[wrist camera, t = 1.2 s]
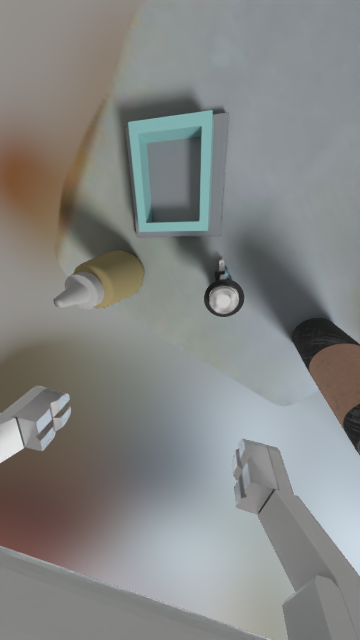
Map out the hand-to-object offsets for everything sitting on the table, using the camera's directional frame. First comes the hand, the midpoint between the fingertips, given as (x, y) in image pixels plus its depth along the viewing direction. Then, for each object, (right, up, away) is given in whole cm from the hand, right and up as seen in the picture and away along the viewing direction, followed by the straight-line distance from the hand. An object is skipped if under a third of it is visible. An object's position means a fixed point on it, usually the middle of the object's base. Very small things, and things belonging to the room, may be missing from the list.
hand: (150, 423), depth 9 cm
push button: (+9, +12, +25) cm, 29 cm away
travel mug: (+26, +2, +26) cm, 37 cm away
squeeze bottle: (-8, +14, +28) cm, 32 cm away
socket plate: (+1, +25, +20) cm, 32 cm away
